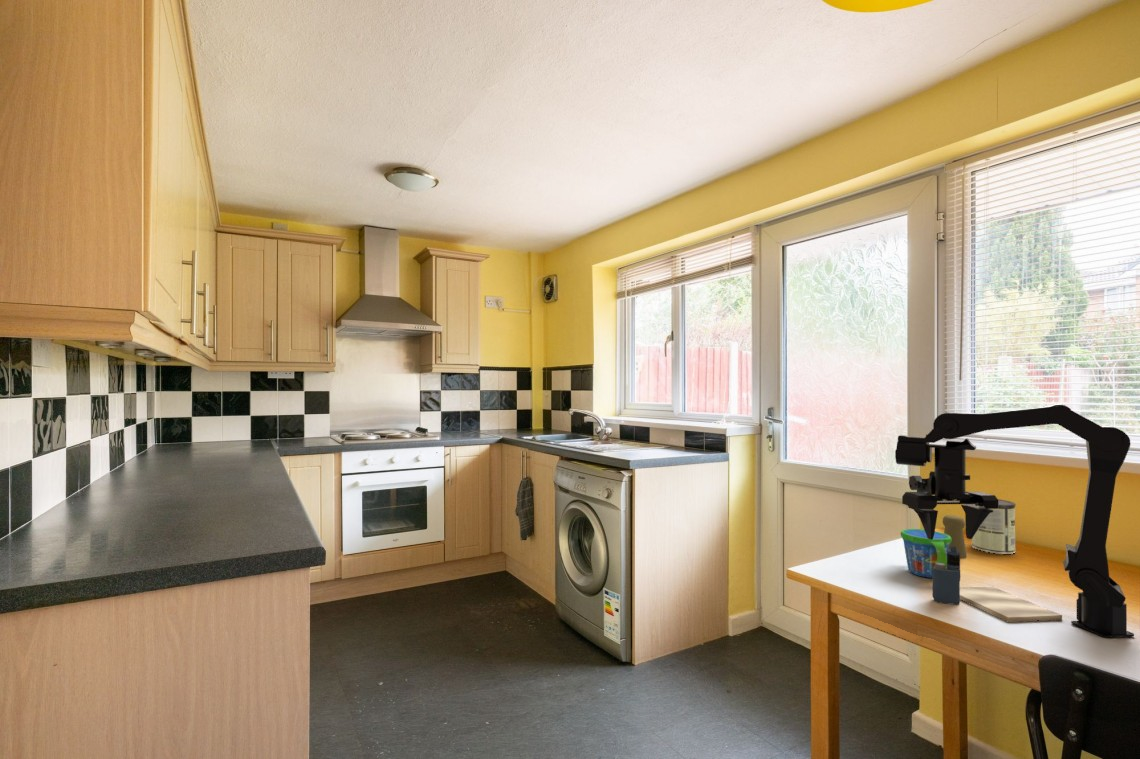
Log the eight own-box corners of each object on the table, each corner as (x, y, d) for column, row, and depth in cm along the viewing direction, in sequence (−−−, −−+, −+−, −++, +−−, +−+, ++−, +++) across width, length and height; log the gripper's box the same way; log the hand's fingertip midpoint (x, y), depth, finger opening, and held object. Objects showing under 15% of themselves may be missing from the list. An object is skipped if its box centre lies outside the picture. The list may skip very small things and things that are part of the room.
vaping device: (962, 605, 118) (962, 549, 118) (935, 602, 119) (935, 547, 120) (957, 600, 121) (956, 545, 121) (930, 598, 122) (930, 544, 122)
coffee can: (969, 542, 167) (969, 496, 167) (1012, 548, 161) (1012, 500, 162) (972, 551, 158) (972, 502, 158) (1018, 557, 153) (1018, 506, 153)
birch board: (1062, 620, 111) (1062, 615, 111) (1008, 622, 110) (1008, 617, 110) (992, 590, 127) (992, 586, 127) (945, 592, 125) (945, 588, 125)
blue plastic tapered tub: (891, 562, 147) (891, 524, 147) (936, 566, 144) (936, 527, 144) (913, 583, 132) (913, 540, 132) (964, 587, 129) (963, 543, 129)
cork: (935, 553, 156) (935, 514, 156) (949, 550, 158) (949, 512, 158) (958, 559, 150) (958, 519, 150) (971, 556, 153) (971, 517, 153)
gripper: (960, 463, 131) (960, 529, 131) (886, 463, 130) (886, 529, 129) (1000, 470, 120) (1000, 542, 120) (920, 471, 118) (919, 543, 118)
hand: (949, 538), depth 122 cm, fingers open, 9 cm apart
